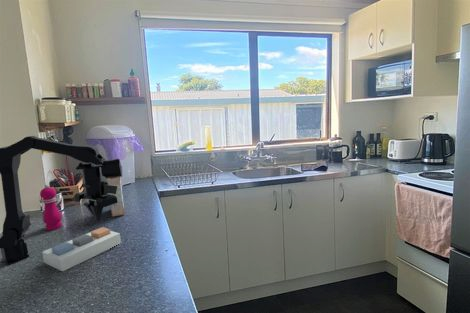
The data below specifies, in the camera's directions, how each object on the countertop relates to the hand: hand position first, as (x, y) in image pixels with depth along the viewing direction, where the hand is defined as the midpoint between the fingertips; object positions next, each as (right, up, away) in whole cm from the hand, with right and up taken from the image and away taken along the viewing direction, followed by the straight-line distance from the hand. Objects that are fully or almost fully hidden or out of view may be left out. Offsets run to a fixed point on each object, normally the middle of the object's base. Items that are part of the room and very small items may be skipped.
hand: (98, 220), depth 112 cm
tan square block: (+1, -7, +1) cm, 7 cm away
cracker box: (-7, -4, +38) cm, 39 cm away
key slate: (-7, -9, -10) cm, 16 cm away
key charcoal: (-3, -8, -5) cm, 10 cm away
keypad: (-3, -11, -4) cm, 12 cm away
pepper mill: (-30, -8, +22) cm, 38 cm away
